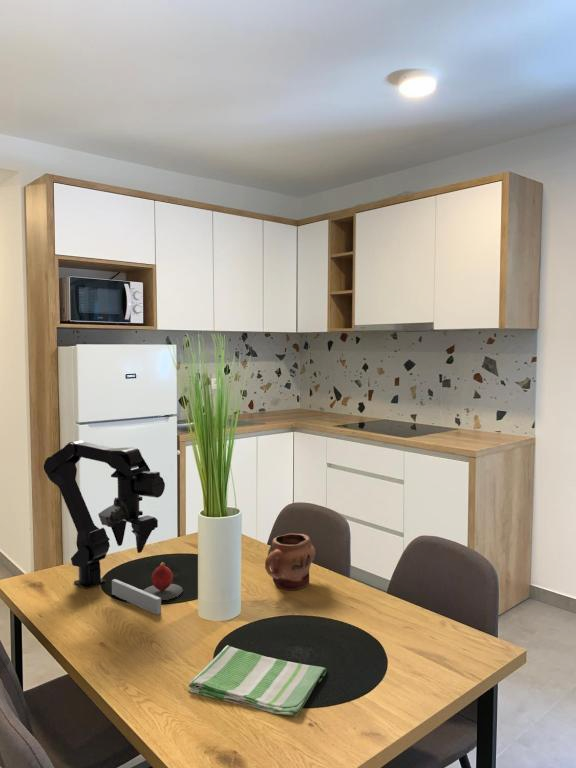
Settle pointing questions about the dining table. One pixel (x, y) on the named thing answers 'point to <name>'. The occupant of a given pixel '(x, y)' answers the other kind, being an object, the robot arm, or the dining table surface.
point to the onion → (162, 577)
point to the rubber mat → (165, 591)
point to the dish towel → (257, 681)
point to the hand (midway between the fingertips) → (129, 549)
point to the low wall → (136, 596)
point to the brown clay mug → (290, 560)
